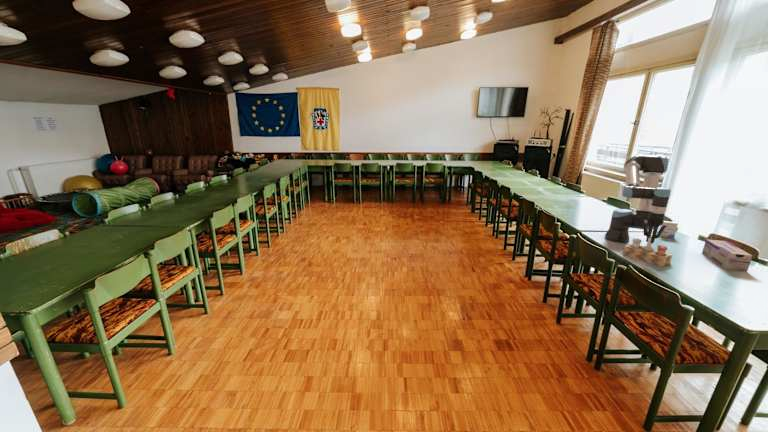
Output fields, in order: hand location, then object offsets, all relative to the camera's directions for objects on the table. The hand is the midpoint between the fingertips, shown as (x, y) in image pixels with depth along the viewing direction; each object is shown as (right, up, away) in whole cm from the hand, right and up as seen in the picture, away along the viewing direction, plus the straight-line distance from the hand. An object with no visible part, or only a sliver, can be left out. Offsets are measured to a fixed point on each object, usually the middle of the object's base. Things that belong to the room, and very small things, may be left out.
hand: (648, 247), depth 203 cm
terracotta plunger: (+3, -6, -5) cm, 8 cm away
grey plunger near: (-3, -3, +7) cm, 8 cm away
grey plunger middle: (0, -7, +2) cm, 8 cm away
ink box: (+49, +4, +41) cm, 64 cm away
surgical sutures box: (+44, -10, -4) cm, 45 cm away
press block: (0, -8, +2) cm, 8 cm away
